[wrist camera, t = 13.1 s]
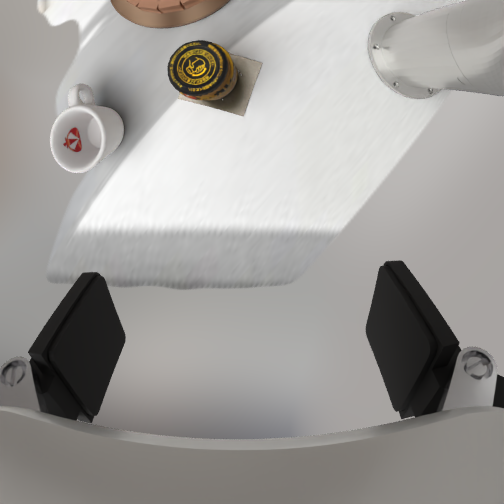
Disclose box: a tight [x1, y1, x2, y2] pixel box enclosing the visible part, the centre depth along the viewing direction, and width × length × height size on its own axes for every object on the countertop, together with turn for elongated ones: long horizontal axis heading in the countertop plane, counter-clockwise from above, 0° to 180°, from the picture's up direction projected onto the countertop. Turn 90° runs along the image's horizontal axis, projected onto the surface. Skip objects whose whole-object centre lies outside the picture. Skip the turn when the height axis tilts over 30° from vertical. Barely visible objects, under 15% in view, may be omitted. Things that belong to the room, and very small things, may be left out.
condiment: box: [168, 40, 262, 116], centre depth 27 cm, size 7×8×12 cm
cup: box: [50, 84, 124, 173], centre depth 30 cm, size 11×8×8 cm
